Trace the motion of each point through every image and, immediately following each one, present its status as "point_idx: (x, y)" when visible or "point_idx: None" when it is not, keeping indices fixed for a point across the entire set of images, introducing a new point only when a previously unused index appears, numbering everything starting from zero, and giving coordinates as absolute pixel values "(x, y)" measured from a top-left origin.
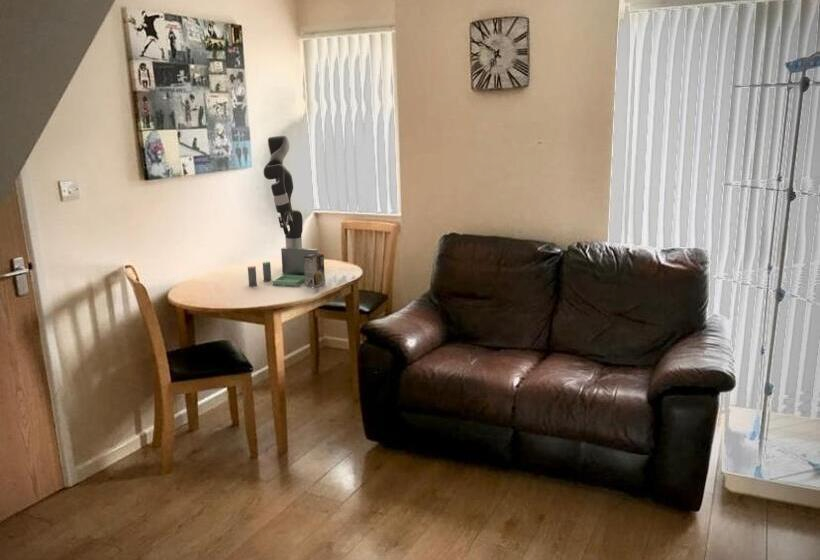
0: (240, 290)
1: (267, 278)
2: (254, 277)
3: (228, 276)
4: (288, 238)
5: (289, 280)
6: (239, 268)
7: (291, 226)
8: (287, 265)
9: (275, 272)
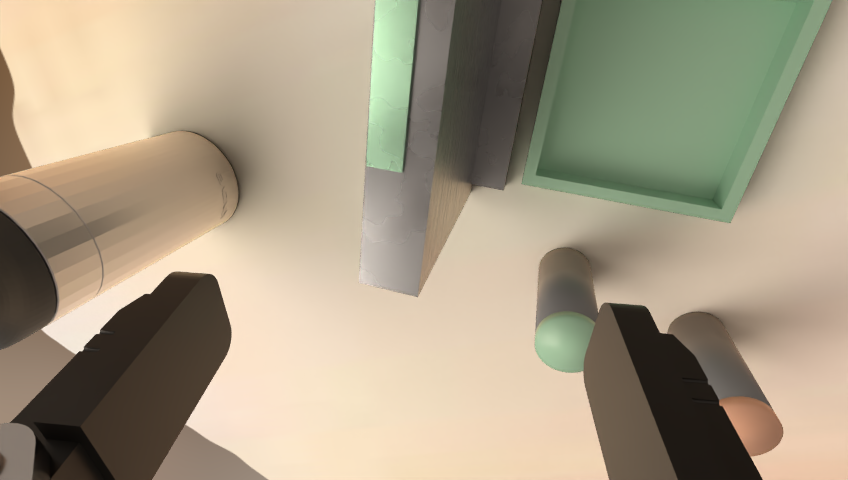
0: (844, 382)
1: (591, 274)
2: (739, 355)
3: (474, 464)
4: (54, 298)
5: (610, 110)
6: (312, 435)
7: (192, 343)
8: (461, 178)
9: (357, 261)
